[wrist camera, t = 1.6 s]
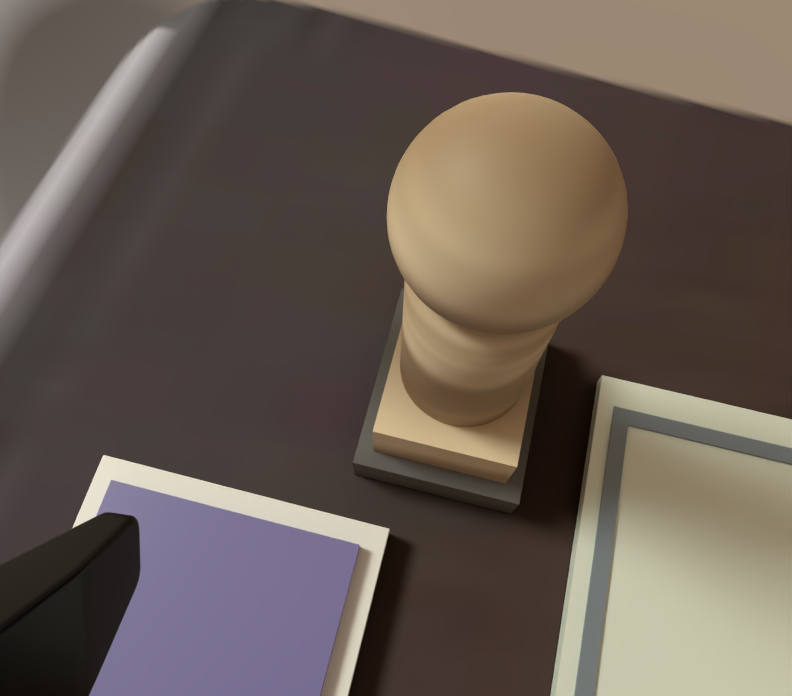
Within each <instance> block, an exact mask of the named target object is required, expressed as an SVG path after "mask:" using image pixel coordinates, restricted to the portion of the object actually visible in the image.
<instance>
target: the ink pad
mask: <svg viewBox="0 0 792 696" xmlns="http://www.w3.org/2000/svg"><path fill="white" fill-rule="evenodd" d="M105 512H112V513H118V514H125V515H132V516H134V517H135V518H136V519H137V520H138V523H139V530H140V563H141V570H140V576H139V581H138V584H137V587H136V589H135V592H134V594H133V596H132V599H131V601H130V603H129V606H128V608H127V610H126V612H125V615H124V617H123V619H122V622H121V624H120V626H119V629H118V631H117V633H116V636H115V638H114V640H113V643H112V645H111V647H110V650H109V652H108V654H107V656H106V659H105V661H104V663H103V666H102V668H101V670H100V673H99V675H98V677H97V679H96V682H95V684H94V686H93V688H92V690H91V693H90V695H89V696H349V692H350V688H351V684H352V680H353V676H354V672H355V668H356V664H357V660H358V656H359V652H360V648H361V644H362V640H363V636H364V632H365V628H366V624H367V620H368V616H369V612H370V608H371V604H372V600H373V596H374V592H375V588H376V584H377V580H378V576H379V572H380V568H381V564H382V560H383V556H384V552H385V548H386V544H387V540H388V536H389V529H387V528H384V527H380V526H376V525H372V524H368V523H364V522H360V521H357V520H353V519H349V518H345V517H341V516H337V515H333V514H329V513H326V512H322V511H318V510H314V509H310V508H306V507H302V506H299V505H295V504H291V503H287V502H283V501H279V500H275V499H271V498H268V497H264V496H260V495H256V494H252V493H248V492H244V491H241V490H237V489H233V488H229V487H225V486H221V485H217V484H213V483H210V482H206V481H202V480H198V479H194V478H190V477H186V476H183V475H179V474H175V473H171V472H167V471H163V470H159V469H156V468H152V467H148V466H144V465H140V464H136V463H132V462H128V461H125V460H121V459H117V458H113V457H109V456H105V455H103V457H102V459H101V462H100V464H99V466H98V469H97V471H96V474H95V476H94V478H93V481H92V483H91V485H90V488H89V490H88V492H87V495H86V497H85V500H84V502H83V504H82V507H81V509H80V511H79V514H78V516H77V518H76V521H75V523H74V525H73V528H74V527H76V526H78V525H80V524H82V523H84V522H86V521H88V520H90V519H92V518H94V517H96V516H98V515H100V514H102V513H105Z"/></svg>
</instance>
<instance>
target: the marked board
mask: <svg viewBox="0 0 792 696" xmlns="http://www.w3.org/2000/svg"><path fill="white" fill-rule="evenodd" d="M550 696H792V420H791V419H787V418H782V417H778V416H774V415H770V414H765V413H761V412H757V411H753V410H748V409H744V408H740V407H736V406H731V405H727V404H723V403H718V402H714V401H710V400H706V399H701V398H697V397H693V396H689V395H684V394H680V393H676V392H671V391H667V390H663V389H659V388H654V387H650V386H646V385H642V384H637V383H633V382H629V381H625V380H620V379H616V378H612V377H607V376H603V375H602V376H601V377H600V379H599V380H598V381H597V386H596V393H595V400H594V407H593V413H592V420H591V427H590V433H589V440H588V447H587V454H586V460H585V467H584V474H583V480H582V487H581V494H580V501H579V507H578V514H577V521H576V527H575V534H574V541H573V548H572V554H571V561H570V568H569V574H568V581H567V588H566V595H565V601H564V608H563V615H562V621H561V628H560V635H559V642H558V648H557V655H556V662H555V668H554V675H553V682H552V689H551V695H550Z"/></svg>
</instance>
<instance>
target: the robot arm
mask: <svg viewBox="0 0 792 696" xmlns="http://www.w3.org/2000/svg"><path fill="white" fill-rule="evenodd" d="M140 570H141V563H140V530H139V523H138V520H137V519H136V518H135V517H134V516H132V515H125V514H118V513H112V512H105V513H102V514H100V515H98V516H96V517H94V518H92V519H90V520H88V521H86V522H84V523H82V524H80V525H78V526H76V527H74V528H72V529H70V530H68V531H66V532H64V533H62V534H60V535H58V536H56V537H54V538H52V539H50V540H48V541H46V542H44V543H42V544H40V545H38V546H36V547H34V548H32V549H30V550H28V551H26V552H24V553H22V554H20V555H18V556H16V557H14V558H12V559H10V560H8V561H6V562H4V563H2V564H0V696H89V695H90V693H91V690H92V688H93V686H94V684H95V682H96V679H97V677H98V675H99V673H100V670H101V668H102V666H103V663H104V661H105V659H106V656H107V654H108V652H109V650H110V647H111V645H112V643H113V640H114V638H115V636H116V633H117V631H118V629H119V626H120V624H121V622H122V619H123V617H124V615H125V612H126V610H127V608H128V606H129V603H130V601H131V599H132V596H133V594H134V592H135V589H136V587H137V584H138V581H139V576H140Z"/></svg>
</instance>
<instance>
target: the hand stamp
mask: <svg viewBox="0 0 792 696" xmlns="http://www.w3.org/2000/svg"><path fill="white" fill-rule="evenodd" d="M627 215H628V208H627V194H626V188H625V184H624V179H623V176H622V173H621V169H620V167H619V164H618V162H617V160H616V157H615V156H614V154H613V152H612V150H611V149H610V147H609V145H608V144H607V142H606V141H605V140H604V138H603V137H602V136H601V134H600V133H599V132H598V131H597V130H596V129H595V128H594V127H593V126H592V125H591V124H590V123H589V122H588V121H587V120H585V119H584V118H583V117H582V116H580V115H579V114H578V113H576V112H574V111H573V110H571V109H570V108H568V107H566V106H564V105H562V104H560V103H558V102H556V101H553V100H551V99H548V98H545V97H541V96H537V95H533V94H526V93H514V92H509V93H496V94H490V95H483V96H480V97H476V98H472V99H470V100H467V101H465V102H462V103H460V104H458V105H456V106H454V107H453V108H451V109H449V110H447V111H445V112H444V113H442V114H441V115H439V116H438V117H437V118H435V119H434V120H433V121H432V122H431V123H430V124H428V125H427V126H426V127H425V128H424V129H423V130H422V131H421V132H420V133H419V134H418V135H417V137H416V138H415V139H414V140H413V142H412V143H411V144H410V146H409V147H408V149H407V150H406V152H405V154H404V155H403V157H402V159H401V161H400V162H399V165H398V167H397V170H396V172H395V175H394V177H393V180H392V183H391V187H390V192H389V197H388V205H387V227H388V236H389V242H390V246H391V250H392V253H393V256H394V258H395V261H396V263H397V266H398V268H399V271H400V272H401V274H402V276H403V278H404V279H405V283H404V289H401V293H400V297H399V300H398V304H397V307H396V311H395V314H394V318H393V321H392V325H391V329H390V332H389V336H388V339H387V343H386V346H385V350H384V354H383V357H382V361H381V364H380V368H379V371H378V375H377V378H376V382H375V386H374V389H373V393H372V396H371V400H370V403H369V407H368V411H367V414H366V418H365V421H364V425H363V428H362V432H361V436H360V439H359V443H358V446H357V450H356V453H355V457H354V460H353V466H354V472H355V475H359V476H363V477H367V478H371V479H375V480H379V481H383V482H387V483H391V484H395V485H399V486H403V487H407V488H411V489H415V490H418V491H422V492H426V493H430V494H434V495H438V496H442V497H446V498H450V499H454V500H458V501H462V502H466V503H470V504H474V505H478V506H482V507H486V508H490V509H493V510H497V511H501V512H505V513H509V514H511V513H512V512H513V511H514V510H515V509H516V507H517V506H518V505H519V503H520V497H521V492H522V486H523V481H524V475H525V470H526V464H527V459H528V453H529V448H530V442H531V437H532V431H533V426H534V420H535V415H536V409H537V404H538V398H539V393H540V387H541V382H542V376H543V371H544V365H545V360H546V354H547V349H548V343H549V341H550V339H551V337H552V335H553V333H554V332H555V330H556V328H557V326H558V324H559V322H560V320H562V319H564V318H566V317H567V316H569V315H571V314H572V313H574V312H575V311H576V310H578V309H579V308H580V307H582V306H583V305H584V304H585V303H586V302H587V301H588V300H589V299H591V298H592V297H593V296H594V294H595V293H596V292H597V291H598V290H599V288H600V287H601V286H602V285H603V283H604V282H605V281H606V279H607V278H608V276H609V274H610V273H611V271H612V269H613V268H614V265H615V263H616V261H617V258H618V256H619V253H620V251H621V249H622V245H623V241H624V237H625V232H626V227H627Z"/></svg>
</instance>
